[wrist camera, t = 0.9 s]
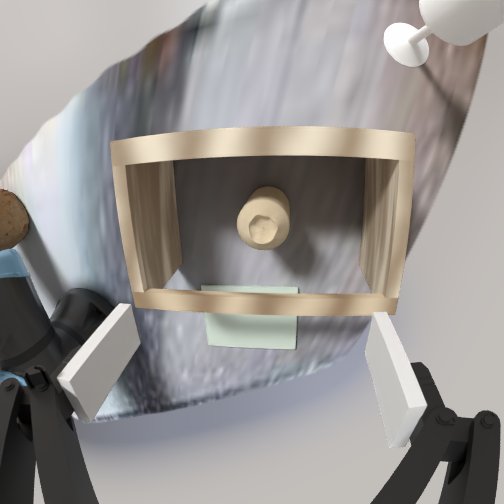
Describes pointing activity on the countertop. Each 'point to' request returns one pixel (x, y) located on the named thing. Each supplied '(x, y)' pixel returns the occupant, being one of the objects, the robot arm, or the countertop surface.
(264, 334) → the mat
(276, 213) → the candle
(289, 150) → the access cubby
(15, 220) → the block
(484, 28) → the champagne flute
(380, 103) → the countertop surface
